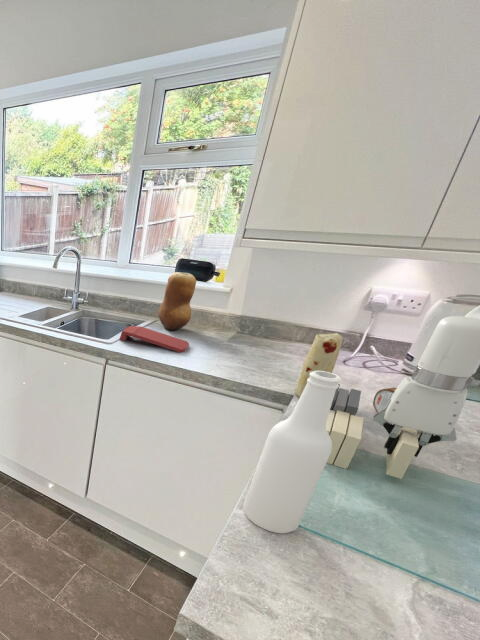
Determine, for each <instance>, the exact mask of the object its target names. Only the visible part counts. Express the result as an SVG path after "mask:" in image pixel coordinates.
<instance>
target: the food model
mask: <svg viewBox="0 0 480 640" xmlns="http://www.w3.org/2000/svg"><path fill="white" fill-rule="evenodd" d="M343 339H344V338H343V336H342V335H341V334H340V333H337V332H336V333H325V334H323V333H322V334H321V333H318V334H316V335H315V337H314V339H313V342H312V344H311V346H310V349H309V351H308V354H307V356H306V357H305V360H304V362H303V365H302V368H301V371H300V374H299V378H298V381H297V384H296V387H295V390H294V395H296V396H297V397H298V398H300V396H301V394H302V392H303V390H304V388H305V386H306V384H307V379H308V378H309V377H310V375H309V374H310V372H313V371H326V372H330V373H333V371H334V369H335V366H336V363H337V361H338V357H339V353H340V350H341V347H342V343H343Z"/></svg>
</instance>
